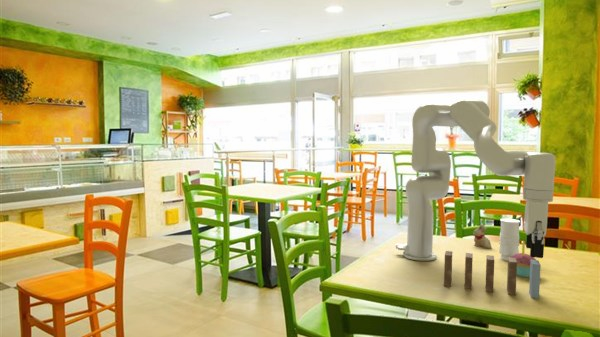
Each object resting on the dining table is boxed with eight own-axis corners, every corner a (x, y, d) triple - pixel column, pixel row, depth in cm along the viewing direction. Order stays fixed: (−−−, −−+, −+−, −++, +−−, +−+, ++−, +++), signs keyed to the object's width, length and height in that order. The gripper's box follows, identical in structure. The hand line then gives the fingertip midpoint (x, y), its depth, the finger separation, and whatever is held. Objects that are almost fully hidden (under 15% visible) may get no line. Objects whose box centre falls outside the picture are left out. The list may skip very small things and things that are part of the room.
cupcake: (536, 280, 134) (538, 244, 133) (507, 275, 138) (508, 240, 138) (537, 273, 141) (539, 238, 140) (509, 269, 146) (511, 235, 145)
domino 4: (508, 294, 121) (509, 261, 121) (506, 289, 126) (508, 257, 125) (515, 295, 121) (517, 262, 120) (514, 290, 125) (515, 257, 125)
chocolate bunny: (483, 244, 181) (484, 221, 180) (493, 248, 173) (494, 225, 172) (471, 244, 180) (472, 221, 180) (480, 249, 173) (481, 225, 172)
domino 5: (531, 297, 119) (532, 264, 118) (529, 291, 124) (530, 259, 123) (539, 298, 118) (540, 264, 118) (536, 292, 123) (538, 260, 122)
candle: (512, 256, 162) (513, 218, 161) (522, 261, 155) (524, 222, 154) (495, 256, 162) (496, 218, 161) (504, 261, 155) (506, 222, 154)
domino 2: (464, 288, 126) (465, 257, 125) (464, 283, 131) (465, 252, 130) (471, 289, 125) (472, 257, 125) (471, 284, 130) (472, 253, 129)
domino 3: (485, 291, 124) (487, 259, 123) (485, 286, 128) (486, 255, 128) (493, 292, 123) (494, 260, 122) (492, 287, 128) (493, 255, 127)
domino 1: (443, 286, 128) (444, 254, 128) (444, 281, 133) (445, 250, 132) (450, 287, 128) (451, 255, 127) (451, 281, 132) (452, 251, 132)
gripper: (520, 190, 128) (516, 244, 130) (526, 198, 113) (522, 259, 114) (547, 192, 126) (544, 246, 127) (558, 200, 110) (554, 262, 111)
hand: (534, 252), depth 121 cm, fingers open, 9 cm apart
